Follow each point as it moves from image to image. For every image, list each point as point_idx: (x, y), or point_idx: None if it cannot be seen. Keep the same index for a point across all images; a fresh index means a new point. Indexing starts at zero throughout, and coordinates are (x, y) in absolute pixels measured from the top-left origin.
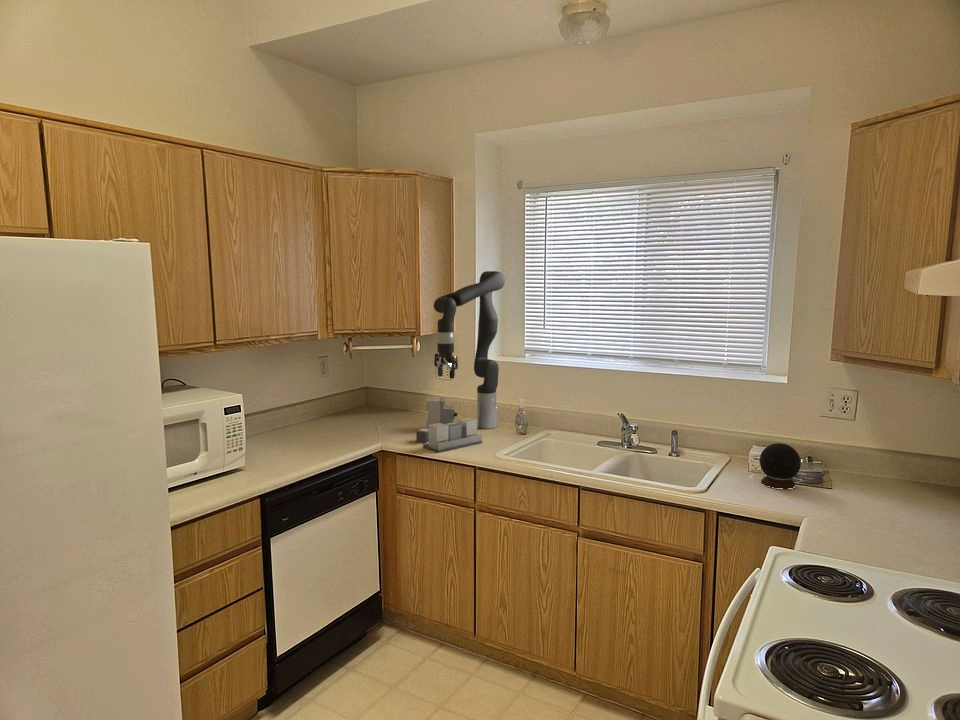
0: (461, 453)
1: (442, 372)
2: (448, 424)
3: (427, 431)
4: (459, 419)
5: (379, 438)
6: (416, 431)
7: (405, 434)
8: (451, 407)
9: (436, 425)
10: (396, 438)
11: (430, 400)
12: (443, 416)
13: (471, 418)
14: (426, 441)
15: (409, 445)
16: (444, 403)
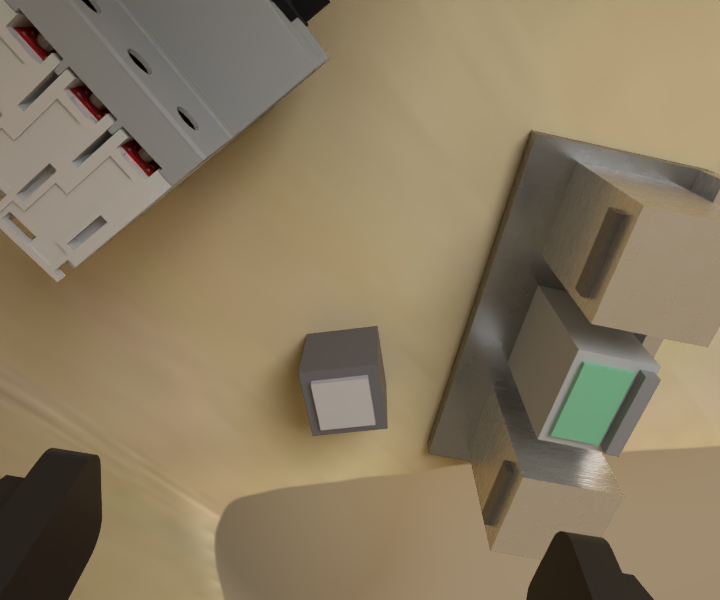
0: (683, 411)
1: (45, 531)
2: (578, 438)
3: (377, 404)
4: (603, 318)
5: (109, 454)
6: (314, 434)
7: (130, 315)
8: (236, 1)
9: (549, 536)
10: (174, 405)
11: (65, 237)
12: (248, 125)
13: (689, 220)
14: (385, 385)
15: (343, 456)
16: (113, 14)
